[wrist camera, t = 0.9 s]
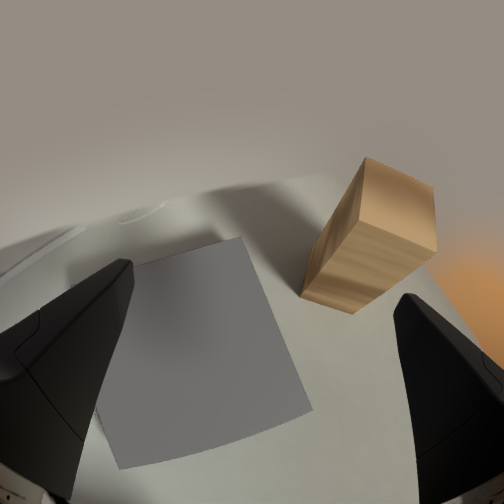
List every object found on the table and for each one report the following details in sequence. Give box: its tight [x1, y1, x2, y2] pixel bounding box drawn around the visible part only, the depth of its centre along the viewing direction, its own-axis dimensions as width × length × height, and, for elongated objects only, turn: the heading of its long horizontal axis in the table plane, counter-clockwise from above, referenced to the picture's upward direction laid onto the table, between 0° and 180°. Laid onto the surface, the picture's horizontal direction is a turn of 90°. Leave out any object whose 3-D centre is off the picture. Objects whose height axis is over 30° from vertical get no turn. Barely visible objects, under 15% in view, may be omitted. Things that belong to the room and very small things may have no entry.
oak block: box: [299, 157, 437, 314], centre depth 21 cm, size 5×5×12 cm
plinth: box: [71, 236, 313, 470], centre depth 20 cm, size 14×14×3 cm
